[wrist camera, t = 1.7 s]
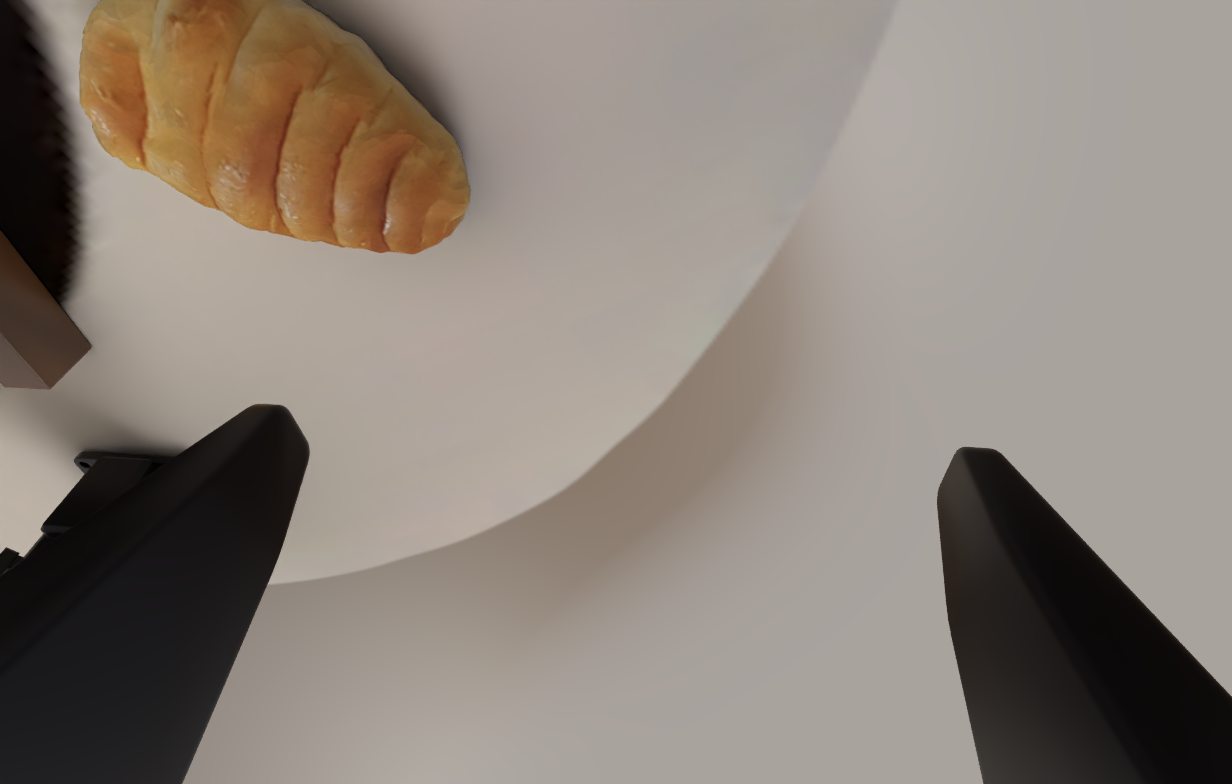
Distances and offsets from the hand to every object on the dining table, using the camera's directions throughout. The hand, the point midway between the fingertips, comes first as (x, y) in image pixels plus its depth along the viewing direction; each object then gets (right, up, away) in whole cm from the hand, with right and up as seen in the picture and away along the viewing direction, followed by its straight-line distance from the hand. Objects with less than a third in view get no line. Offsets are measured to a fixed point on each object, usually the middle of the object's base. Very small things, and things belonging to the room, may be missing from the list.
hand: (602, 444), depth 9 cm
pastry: (-9, +9, +10) cm, 16 cm away
